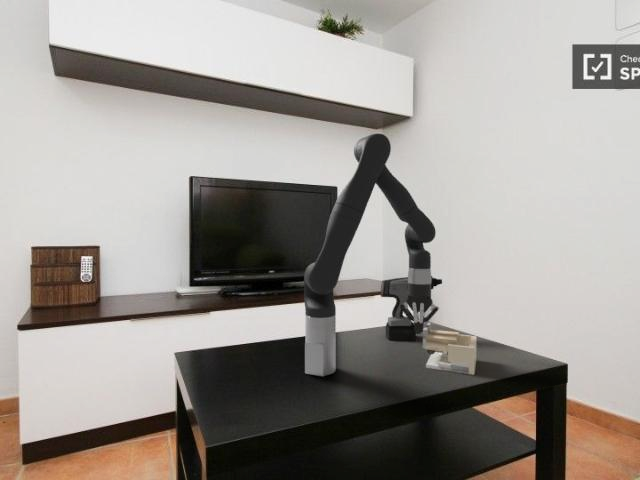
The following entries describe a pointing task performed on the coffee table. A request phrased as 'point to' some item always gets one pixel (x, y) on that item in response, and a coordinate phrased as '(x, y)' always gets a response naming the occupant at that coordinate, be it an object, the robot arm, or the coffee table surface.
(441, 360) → the dock
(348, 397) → the coffee table surface
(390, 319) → the cordless drill
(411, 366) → the coffee table surface
